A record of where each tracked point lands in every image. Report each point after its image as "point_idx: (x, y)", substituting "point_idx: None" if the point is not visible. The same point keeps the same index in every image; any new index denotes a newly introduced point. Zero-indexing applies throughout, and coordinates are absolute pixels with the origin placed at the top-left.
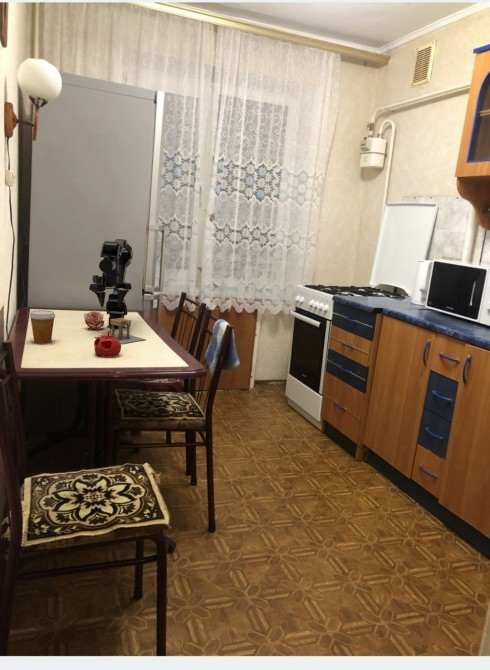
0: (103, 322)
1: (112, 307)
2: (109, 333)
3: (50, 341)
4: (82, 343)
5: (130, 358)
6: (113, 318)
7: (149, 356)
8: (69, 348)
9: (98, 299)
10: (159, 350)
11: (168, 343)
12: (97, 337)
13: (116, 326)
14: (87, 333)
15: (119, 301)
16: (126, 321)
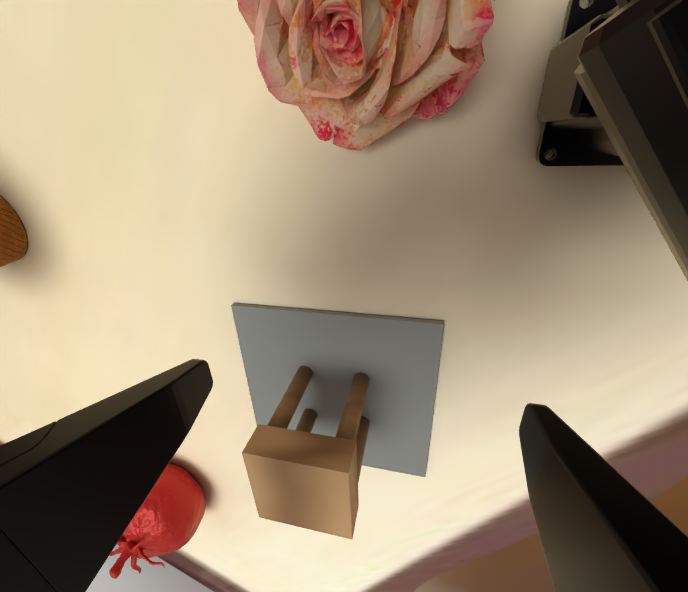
0: (447, 95)
1: (619, 156)
2: (123, 565)
3: (19, 257)
4: (147, 344)
5: (219, 530)
6: (590, 121)
7: (275, 553)
8: (87, 367)
9: (56, 423)
10: (347, 553)
11: (461, 545)
12: (240, 320)
13: (580, 140)
14: (249, 176)
15: (544, 500)
16: (313, 524)
